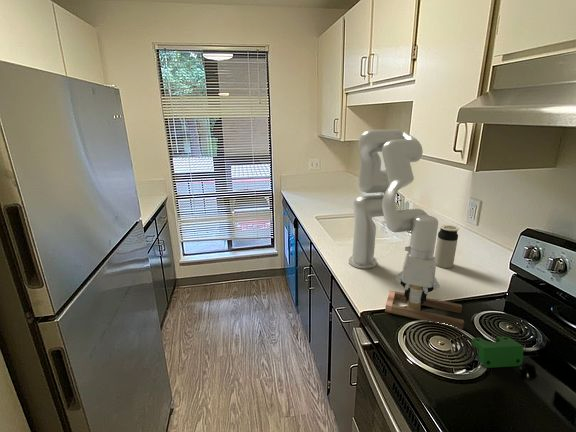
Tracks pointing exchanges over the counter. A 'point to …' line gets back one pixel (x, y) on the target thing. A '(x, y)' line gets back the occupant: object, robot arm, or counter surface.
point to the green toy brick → (499, 352)
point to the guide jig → (422, 314)
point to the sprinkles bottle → (415, 297)
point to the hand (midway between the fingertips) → (414, 300)
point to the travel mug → (446, 246)
